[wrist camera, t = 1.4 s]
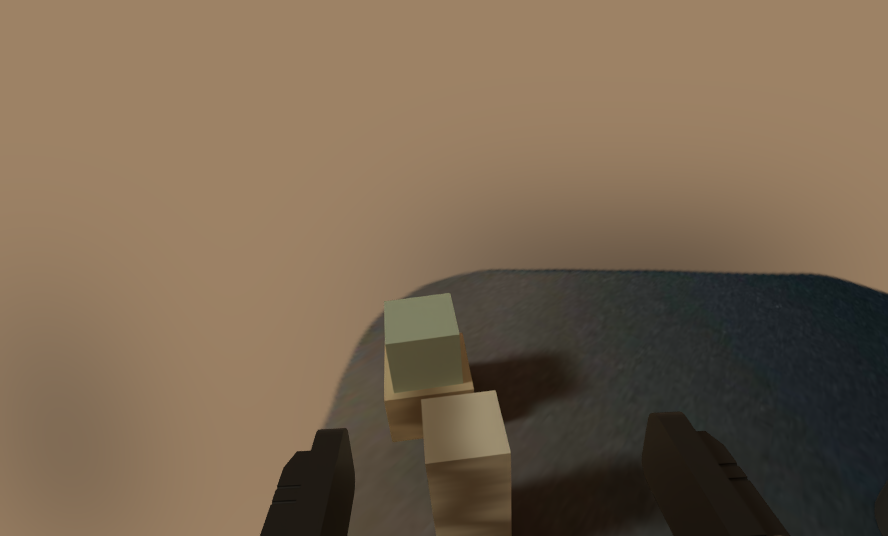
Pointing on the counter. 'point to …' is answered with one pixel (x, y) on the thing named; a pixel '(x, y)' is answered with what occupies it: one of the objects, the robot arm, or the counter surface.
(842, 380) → the counter surface
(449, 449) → the birch pillar
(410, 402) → the oak block
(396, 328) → the sage block
